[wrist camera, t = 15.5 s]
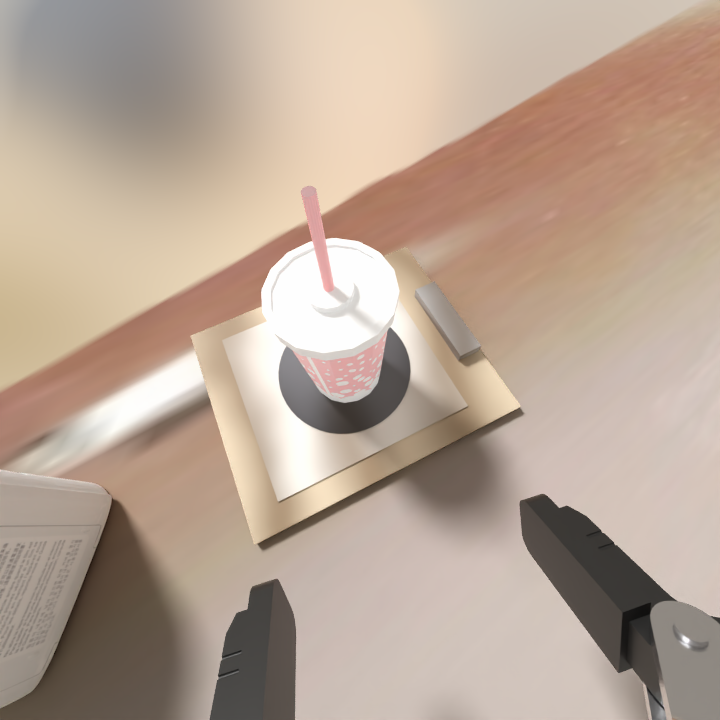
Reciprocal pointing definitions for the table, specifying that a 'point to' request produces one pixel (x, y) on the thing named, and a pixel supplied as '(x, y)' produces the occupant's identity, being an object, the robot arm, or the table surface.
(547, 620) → the table surface
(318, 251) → the beverage cup
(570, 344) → the table surface
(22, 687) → the photo printer
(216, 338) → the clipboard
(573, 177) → the table surface
